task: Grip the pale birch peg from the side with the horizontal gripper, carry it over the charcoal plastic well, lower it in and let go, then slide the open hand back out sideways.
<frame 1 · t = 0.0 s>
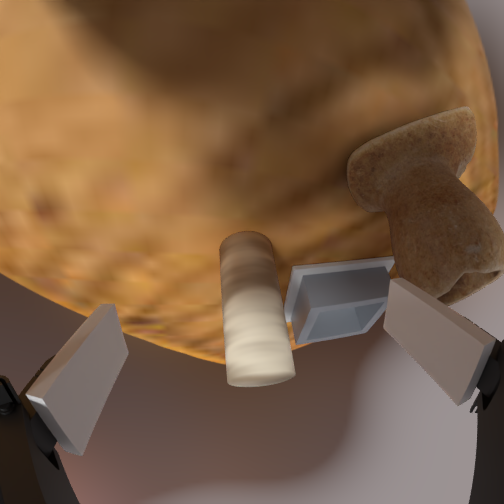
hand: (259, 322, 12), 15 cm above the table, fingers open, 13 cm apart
well: (334, 291, 42), on the table
peg: (245, 249, 32), on the table
tan boot: (407, 160, 24), on the table
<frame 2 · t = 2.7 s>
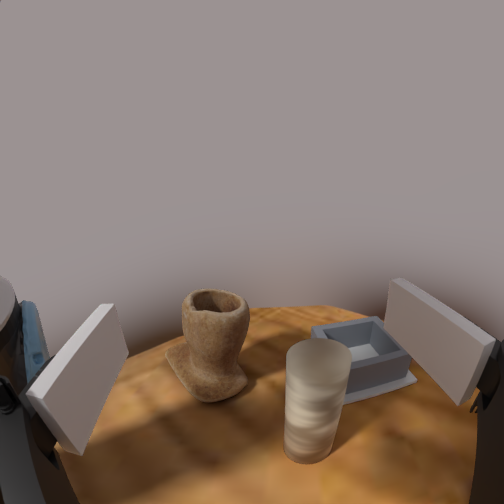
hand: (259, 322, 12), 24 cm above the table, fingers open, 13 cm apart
well: (355, 366, 41), on the table
peg: (307, 445, 27), on the table
tan boot: (212, 375, 42), on the table
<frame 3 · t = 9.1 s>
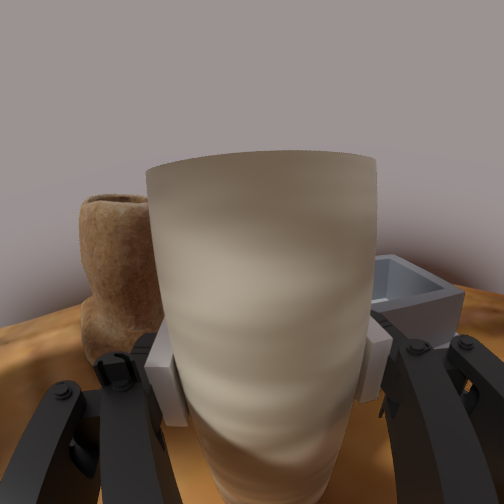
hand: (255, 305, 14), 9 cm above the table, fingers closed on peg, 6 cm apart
well: (368, 328, 25), on the table
peg: (272, 477, 11), on the table, touching gripper
tan boot: (136, 337, 26), on the table
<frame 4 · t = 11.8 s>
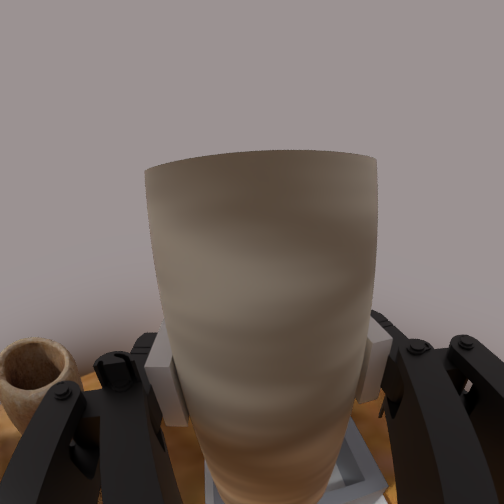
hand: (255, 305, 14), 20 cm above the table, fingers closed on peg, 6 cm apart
well: (287, 477, 19), on the table
peg: (272, 478, 11), point 12 cm above the table, touching gripper
tan boot: (77, 450, 20), on the table
when the fingers open (11 cm above the table, at t = 14.8 s): peg drops 2 cm, resting on well.
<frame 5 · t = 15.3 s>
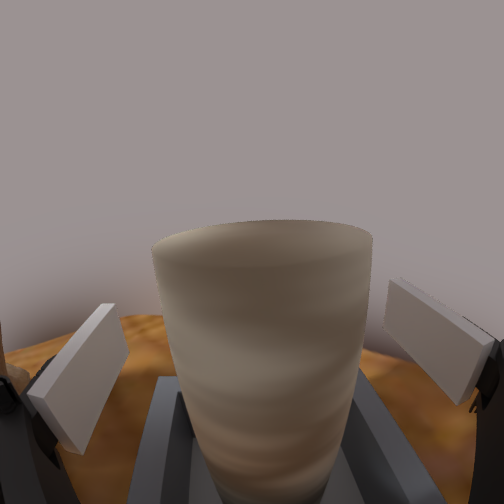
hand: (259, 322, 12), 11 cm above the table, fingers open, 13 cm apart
well: (272, 493, 11), on the table
peg: (271, 491, 11), point 1 cm above the table, touching well
tan boot: (7, 423, 13), on the table
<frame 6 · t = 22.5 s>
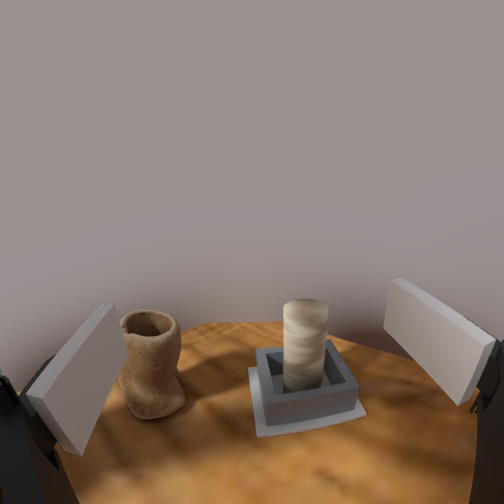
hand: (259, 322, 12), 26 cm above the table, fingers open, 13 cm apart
well: (301, 393, 39), on the table
peg: (301, 391, 39), point 1 cm above the table, touching well
tan boot: (157, 392, 40), on the table
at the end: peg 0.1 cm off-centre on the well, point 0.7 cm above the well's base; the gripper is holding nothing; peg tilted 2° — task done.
